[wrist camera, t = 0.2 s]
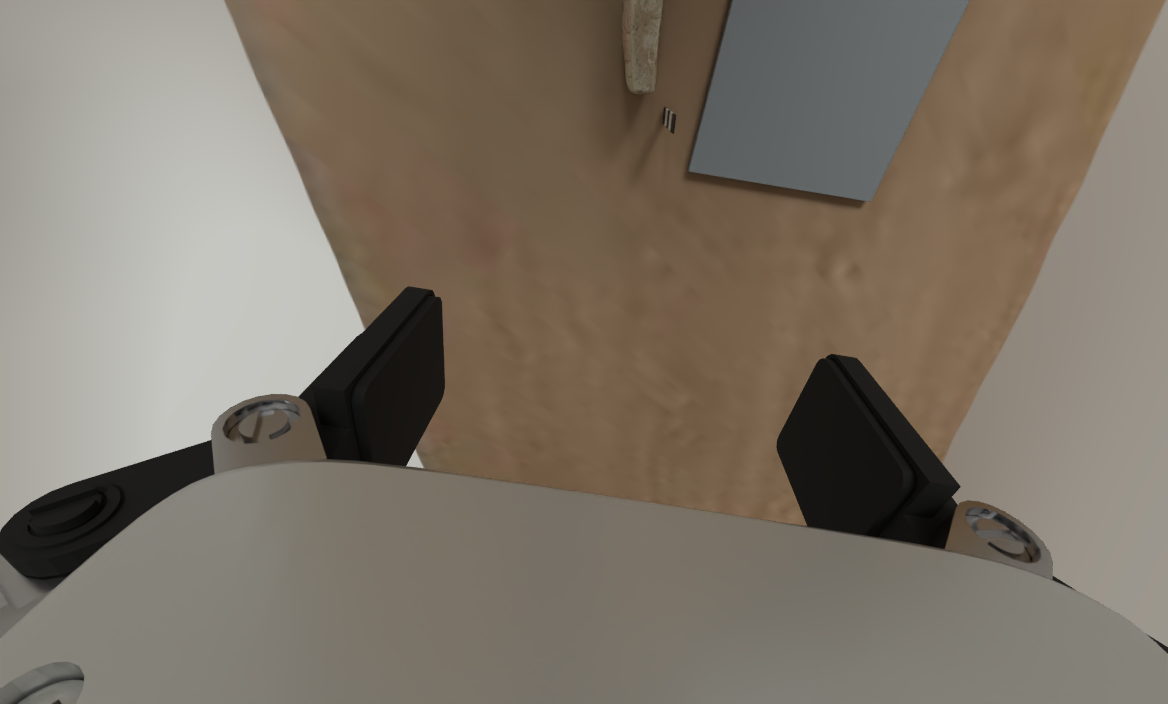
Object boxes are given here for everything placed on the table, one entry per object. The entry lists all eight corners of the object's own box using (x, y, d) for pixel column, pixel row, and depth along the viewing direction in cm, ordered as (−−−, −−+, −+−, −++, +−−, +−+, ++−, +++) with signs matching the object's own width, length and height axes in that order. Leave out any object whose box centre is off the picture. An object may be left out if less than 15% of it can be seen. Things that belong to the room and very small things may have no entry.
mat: (745, -58, 29) (748, -61, 28) (971, -18, 29) (979, -20, 28) (687, 169, 37) (688, 171, 36) (866, 199, 37) (870, 201, 36)
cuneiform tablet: (674, 133, 30) (703, -117, 24) (618, 132, 30) (631, -118, 24) (663, 123, 35) (686, -88, 29) (615, 122, 35) (626, -89, 29)
